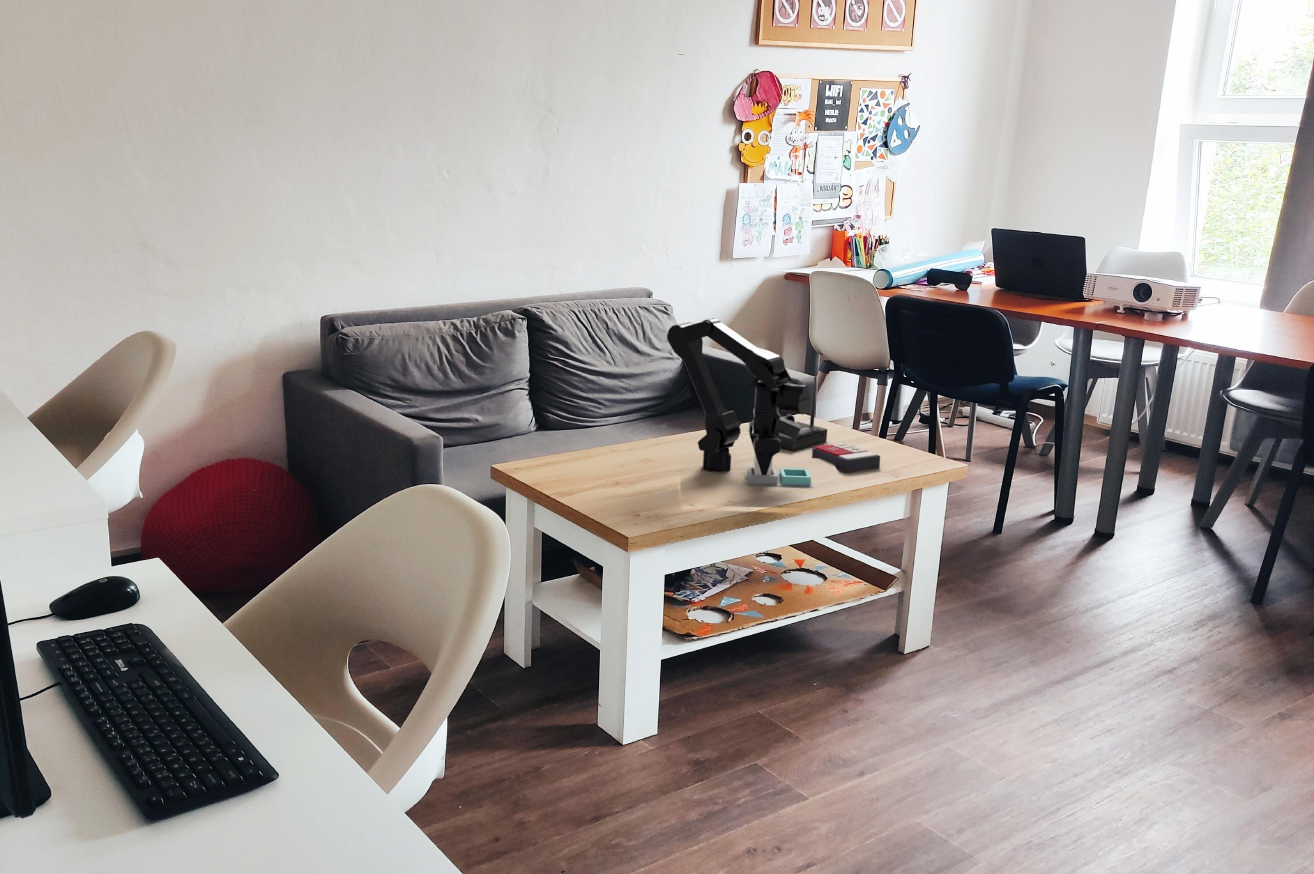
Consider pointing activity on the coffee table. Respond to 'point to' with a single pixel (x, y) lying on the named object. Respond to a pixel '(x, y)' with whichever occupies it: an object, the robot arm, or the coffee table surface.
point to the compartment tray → (780, 478)
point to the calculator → (847, 457)
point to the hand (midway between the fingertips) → (762, 469)
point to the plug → (757, 468)
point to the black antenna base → (805, 433)
